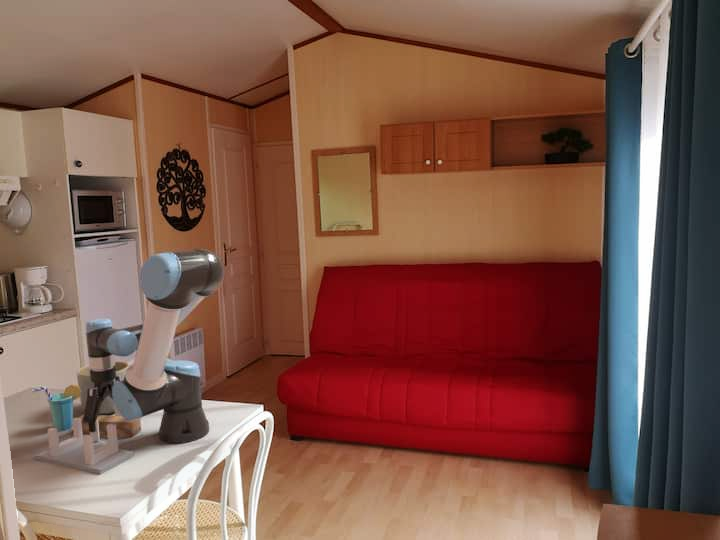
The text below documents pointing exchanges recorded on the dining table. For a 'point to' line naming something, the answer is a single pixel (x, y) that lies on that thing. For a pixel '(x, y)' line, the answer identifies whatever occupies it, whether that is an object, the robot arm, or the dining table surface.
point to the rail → (122, 425)
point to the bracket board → (84, 450)
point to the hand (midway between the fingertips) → (108, 432)
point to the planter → (86, 384)
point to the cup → (62, 406)
